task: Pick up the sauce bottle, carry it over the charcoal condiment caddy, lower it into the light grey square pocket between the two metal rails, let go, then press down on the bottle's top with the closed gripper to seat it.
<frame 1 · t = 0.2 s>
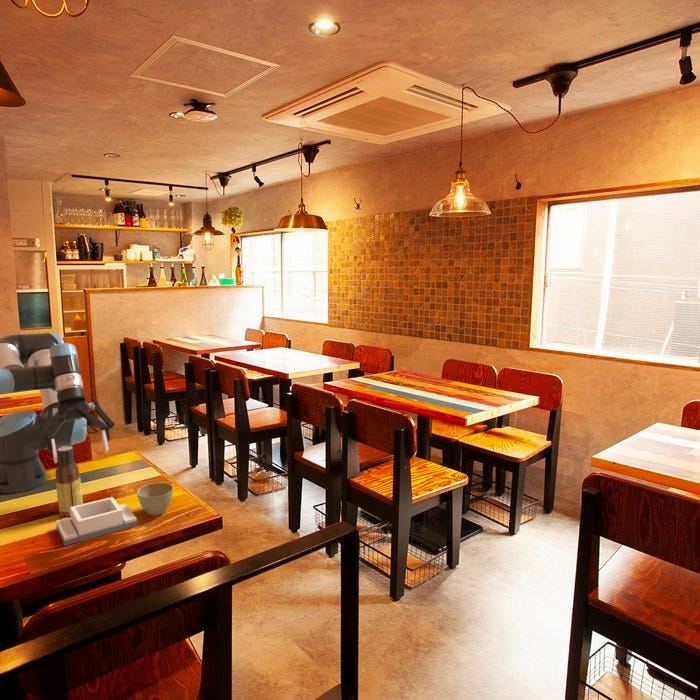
hand: (82, 456, 152), 16 cm above the table, tool tilted 35°, fingers open, 13 cm apart
caddy: (97, 527, 142), on the table
flower pot: (156, 512, 152), on the table
sauce bottle: (70, 513, 150), on the table
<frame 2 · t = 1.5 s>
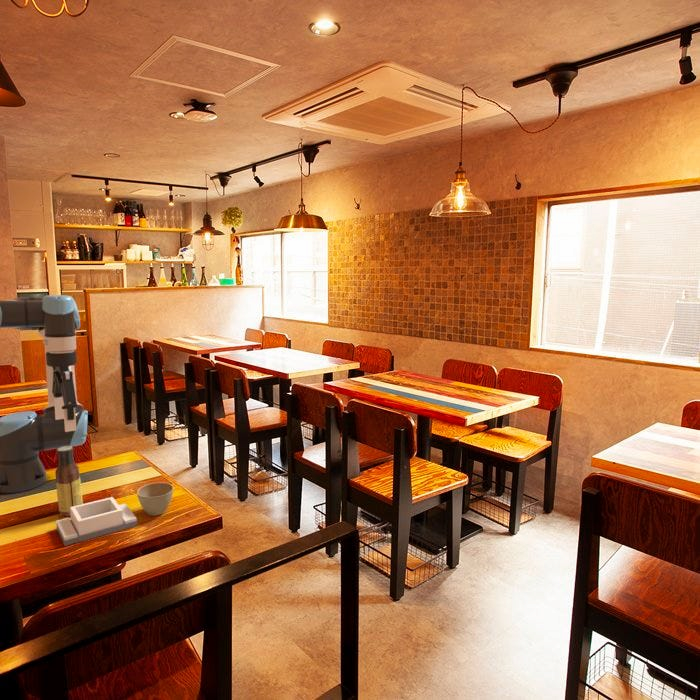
hand: (65, 424, 146), 27 cm above the table, tool pointing down, fingers open, 13 cm apart
nothing on the table moved.
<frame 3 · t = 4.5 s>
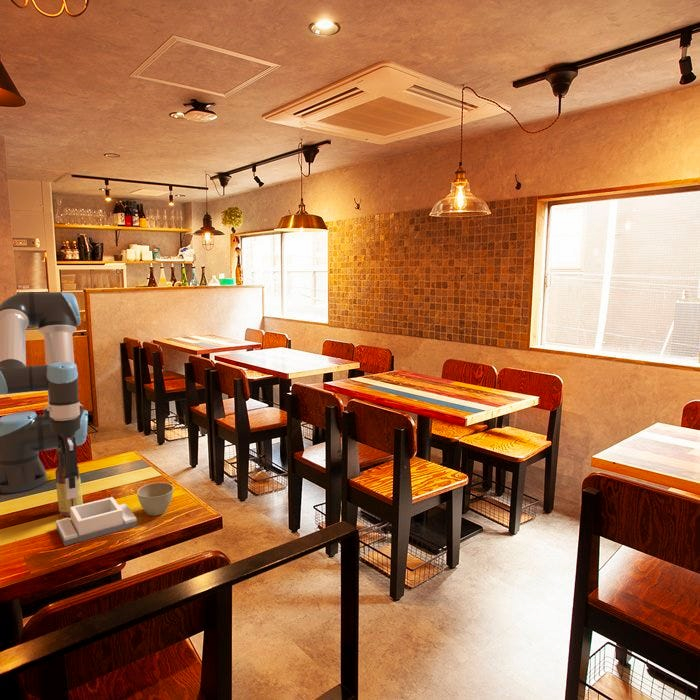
hand: (69, 493, 149), 6 cm above the table, tool pointing down, fingers closed on sauce bottle, 6 cm apart
sauce bottle: (70, 513, 150), on the table, touching gripper
everything else where it was.
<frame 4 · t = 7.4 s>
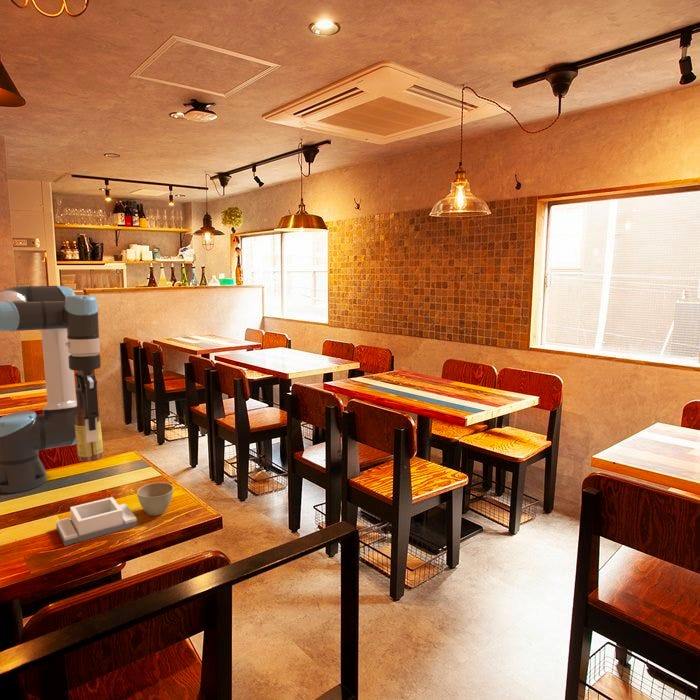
hand: (89, 437, 139), 26 cm above the table, tool pointing down, fingers closed on sauce bottle, 6 cm apart
sauce bottle: (90, 459, 140), point 19 cm above the table, touching gripper
everything else where it was.
when the fingers open (9 cm above the table, at t = 10.3 s): sauce bottle drops 1 cm, resting on caddy.
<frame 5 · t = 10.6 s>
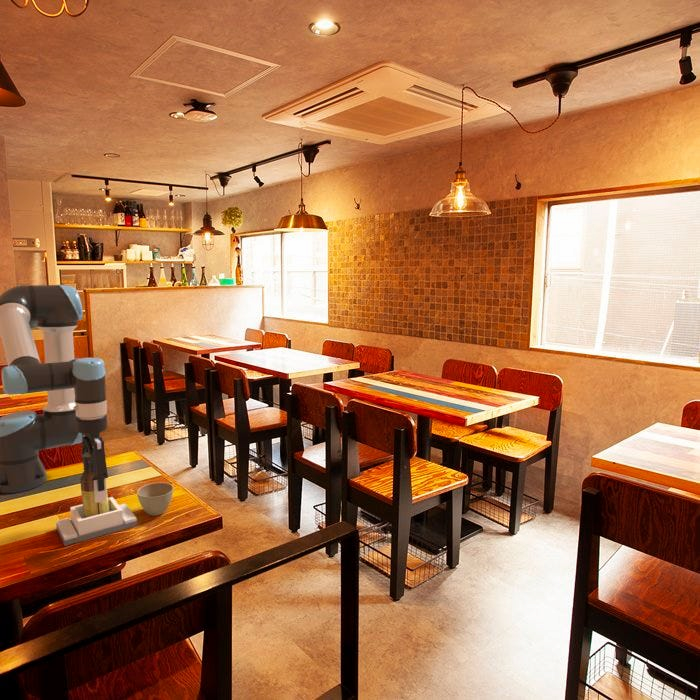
hand: (95, 493, 141), 10 cm above the table, tool pointing down, fingers open, 10 cm apart
sauce bottle: (96, 522, 142), point 1 cm above the table, touching caddy
everything else where it was.
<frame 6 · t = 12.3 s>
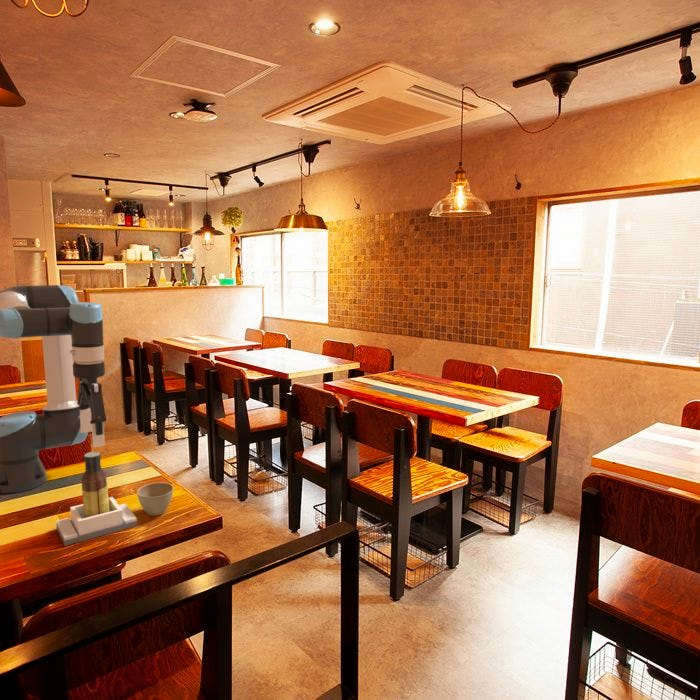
hand: (92, 438, 138), 26 cm above the table, tool pointing down, fingers open, 13 cm apart
nothing on the table moved.
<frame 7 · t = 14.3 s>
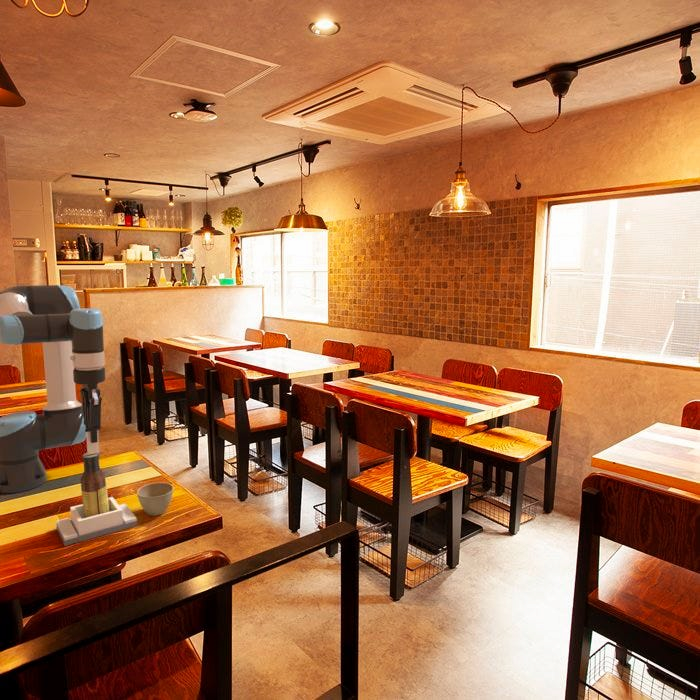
hand: (93, 452, 139), 22 cm above the table, tool pointing down, fingers closed
sauce bottle: (96, 522, 142), point 1 cm above the table, touching caddy, gripper
everything else where it was.
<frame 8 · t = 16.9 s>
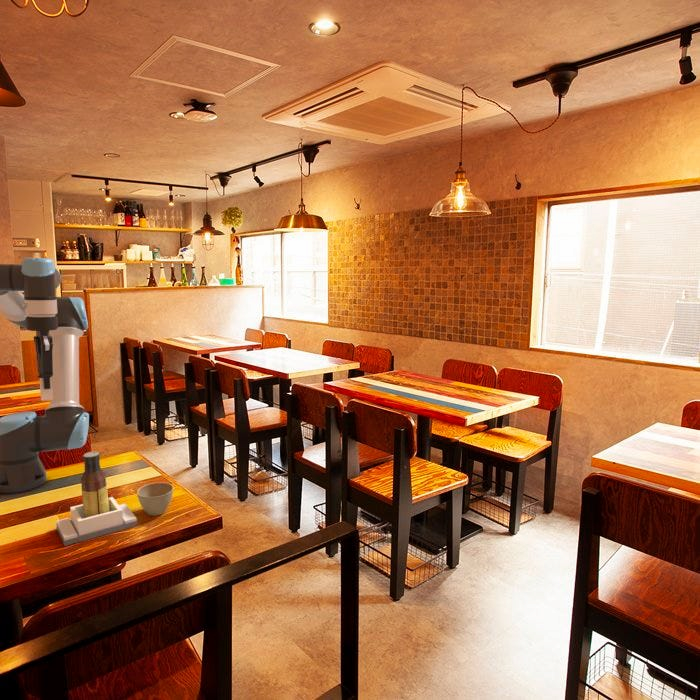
hand: (47, 399, 143), 34 cm above the table, tool pointing down, fingers closed
sauce bottle: (96, 522, 142), point 1 cm above the table, touching caddy
everything else where it was.
at the end: sauce bottle 0.2 cm off-centre on the caddy, point 1.3 cm above the caddy's base; sauce bottle tilted 0°; the gripper is holding nothing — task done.
